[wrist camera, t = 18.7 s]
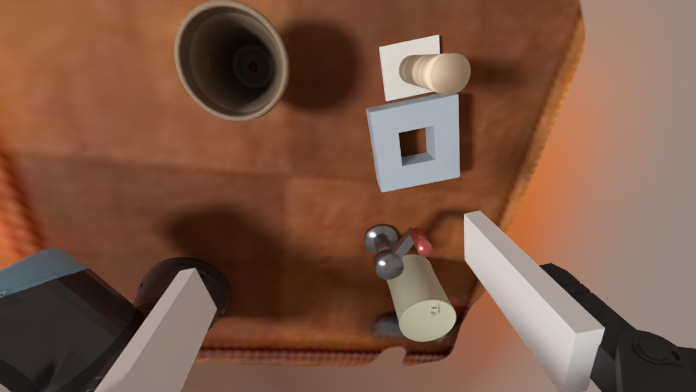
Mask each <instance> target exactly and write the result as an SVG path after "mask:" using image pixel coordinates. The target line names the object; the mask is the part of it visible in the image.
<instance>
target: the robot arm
mask: <svg viewBox="0 0 696 392" xmlns="http://www.w3.org/2000/svg"><path fill="white" fill-rule="evenodd" d="M464 241H465V261H466V262H467V264H468V265H469V266H470V268H471V269H472V271H473V272H474V273H475V275H476V276H477V278H478V279H479V280H480V282H481V283H482V284H483V286H484V287H485V289H486V290H487V291H488V293H489V294H490V296H491V297H492V298H493V300H494V301H495V302H496V304H497V305H498V307H499V308H500V310H501V311H502V312H503V314H504V315H505V316H506V318H507V319H508V321H509V322H510V323H511V325H512V326H513V328H514V329H515V331H516V332H517V333H518V335H519V336H520V337H521V339H522V340H523V342H524V343H525V344H526V346H527V347H528V349H529V350H530V351H531V353H532V354H533V356H534V357H535V358H536V360H537V361H538V363H539V364H540V365H541V367H542V368H543V370H544V371H545V372H546V374H547V375H548V377H549V378H550V379H551V381H552V382H553V384H554V385H555V386H556V388H557V389H558V391H559V392H583V391H587V389H588V385H589V382H590V379H592V381H593V382H594V383H595V384H596V385H597V386H598V388H599V389H600V390H601V392H696V349H694V348H684V347H677V346H676V345H674V344H672V343H671V342H669V341H668V340H666V339H664V338H663V337H660V336H658V335H655V334H652V333H650V332H646V331H640V330H636V329H635V328H634V327H632V326H631V325H630V324H629V323H627V322H626V321H625V320H624V319H623V318H621V317H620V316H619V315H618V314H617V313H616V312H615V311H614V310H612V309H611V308H610V307H609V306H608V305H606V304H605V303H604V302H603V301H602V300H601V299H599V298H598V297H597V296H596V295H595V294H593V293H591V292H590V290H589V289H588V288H586V287H585V286H584V285H583V284H580V282H579V281H578V280H577V279H576V278H575V277H574V276H572V275H571V274H570V273H569V272H568V271H566V270H564V269H562V268H560V267H558V266H556V265H554V264H552V263H550V264H544V265H539V266H538V265H537V264H536V263H535V262H534V261H533V260H532V259H531V258H530V257H529V256H528V255H527V254H526V253H524V251H522V250H521V249H520V248H519V247H518V246H517V245H516V244H515V243H514V242H513V241H512V240H511V239H510V238H509V237H508V236H507V235H505V234H504V233H503V232H502V231H501V230H500V229H499V228H498V227H497V226H496V225H495V224H494V223H493V222H492V221H491V220H489V219H488V218H487V217H486V216H485V215H484V214H483V213H482V212H481V211H476V212H471V213H466V214H464ZM230 297H231V291H230V287H229V284H228V282H227V280H226V279H225V277H224V276H223V275H222V274H221V273H220V272H219V271H218V270H217V269H215V268H214V267H212V266H210V265H209V264H207V263H204V262H202V261H199V260H195V259H190V258H173V259H168V260H165V261H162V262H160V263H158V264H156V265H155V266H154V267H153V268H152V269H151V270H150V271H149V272H148V273H147V274H146V276H145V277H144V278H143V280H142V281H141V283H140V286H139V289H138V295H137V297H136V299H135V301H134V304H132V303H130V302H129V301H128V300H127V299H126V298H124V297H123V296H122V295H121V294H120V293H118V292H117V291H116V290H115V289H114V288H112V287H111V286H110V285H109V284H108V283H106V282H105V281H104V280H103V279H102V278H101V277H99V276H98V275H97V274H96V273H95V272H93V271H92V270H91V267H90V266H88V265H84V264H82V263H81V262H80V261H78V260H77V259H76V258H74V257H73V256H72V255H70V254H69V253H67V252H66V251H64V250H61V249H45V250H42V251H39V252H37V253H34V254H32V255H30V256H28V257H26V258H24V259H22V260H20V261H18V262H16V263H14V264H11V265H9V266H7V267H5V268H3V269H1V270H0V392H180V391H181V389H182V387H183V385H184V382H185V380H186V378H187V376H188V373H189V371H190V369H191V367H192V364H193V362H194V360H195V358H196V355H197V353H198V351H199V349H200V346H201V344H202V342H203V340H204V337H205V335H206V333H207V332H208V331H209V330H210V329H211V327H212V326H213V325H214V323H216V322H217V321H218V320H219V319H220V318H221V317H222V316H223V314H224V312H225V311H226V308H227V306H228V304H229V301H230Z"/></svg>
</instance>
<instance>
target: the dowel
mask: <svg viewBox="0 0 696 392" xmlns="http://www.w3.org/2000/svg"><path fill="white" fill-rule="evenodd" d="M470 74H471V68H470V64H469V62H468V60H467V59H466V58H465V57H464V56H463V55H461V54H457V53H451V54H426V55H410V56H407V57H405V58H404V59H403V60H402V62H401V63H400V66H399V76H400V78H401V79H402V80H403V81H404V82H406V83H409V84H412V85H415V86H418V87H422V88H425V89H428V90H431V91H435V92H438V93H441V94H445V95H453V94H456V93H458V92H460V91H461V90H462V89H463V88H464V87H465V86H466V84H467V83H468V81H469V78H470Z"/></svg>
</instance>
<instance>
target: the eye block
mask: <svg viewBox="0 0 696 392" xmlns="http://www.w3.org/2000/svg"><path fill="white" fill-rule="evenodd" d="M366 111H367V118H368V124H369V130H370V137H371V143H372V150H373V156H374V163H375V169H376V176H377V182H378V185H379V187H380V189H381V192H387V191H392V190H397V189H402V188H407V187H412V186H417V185H422V184H427V183H432V182H437V181H442V180H447V179H452V178H457V177H460V155H459V101H458V94H453V95H445V94H441V93H438V94H433V95H429V96H424V97H419V98H414V99H409V100H404V101H399V102H394V103H390V104H385V105H380V106H375V107H370V108H366ZM420 128H425V130H426V144H427V152H425V153H420V154H415V155H410V156H405V157H401V152H400V143H399V134H398V133H401V132H405V131H410V130H415V129H420Z"/></svg>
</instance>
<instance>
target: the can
mask: <svg viewBox="0 0 696 392" xmlns="http://www.w3.org/2000/svg"><path fill="white" fill-rule="evenodd" d="M402 261H403V264H404V270H403V272H402V274H401V275H400V276H398V277H397V278H395V279H391V280H386V281H387V283H388V285H389V289H390V292H391V295H392V299H393V303H394V306H395V310H396V314H397V317H398V321H399V327H400V330H401V332H402V333H403V335H404V336H406V337H407V338H409V339H411V340H414V341H420V342H424V341H431V340H435V339H438V338H440V337H442V336H444V335H445V334H446V333H448V332H449V331H450V330H451V329H452V327H453V326H454V324H455V321H456V312H455V310H454V308H453V307H452V305H451V303H450V302H449V300H448V298H447V296H446V294H445V292H444V290H443V288H442V286H441V285H440V283H439V281H438V279H437V277H436V275H435V273H434V271H433V268H432V265H431V263H430V262H429V261H428V260H427V259H426V258H425V257H421V256H420V255H415V254H409V255H404V257H403V258H402Z"/></svg>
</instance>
